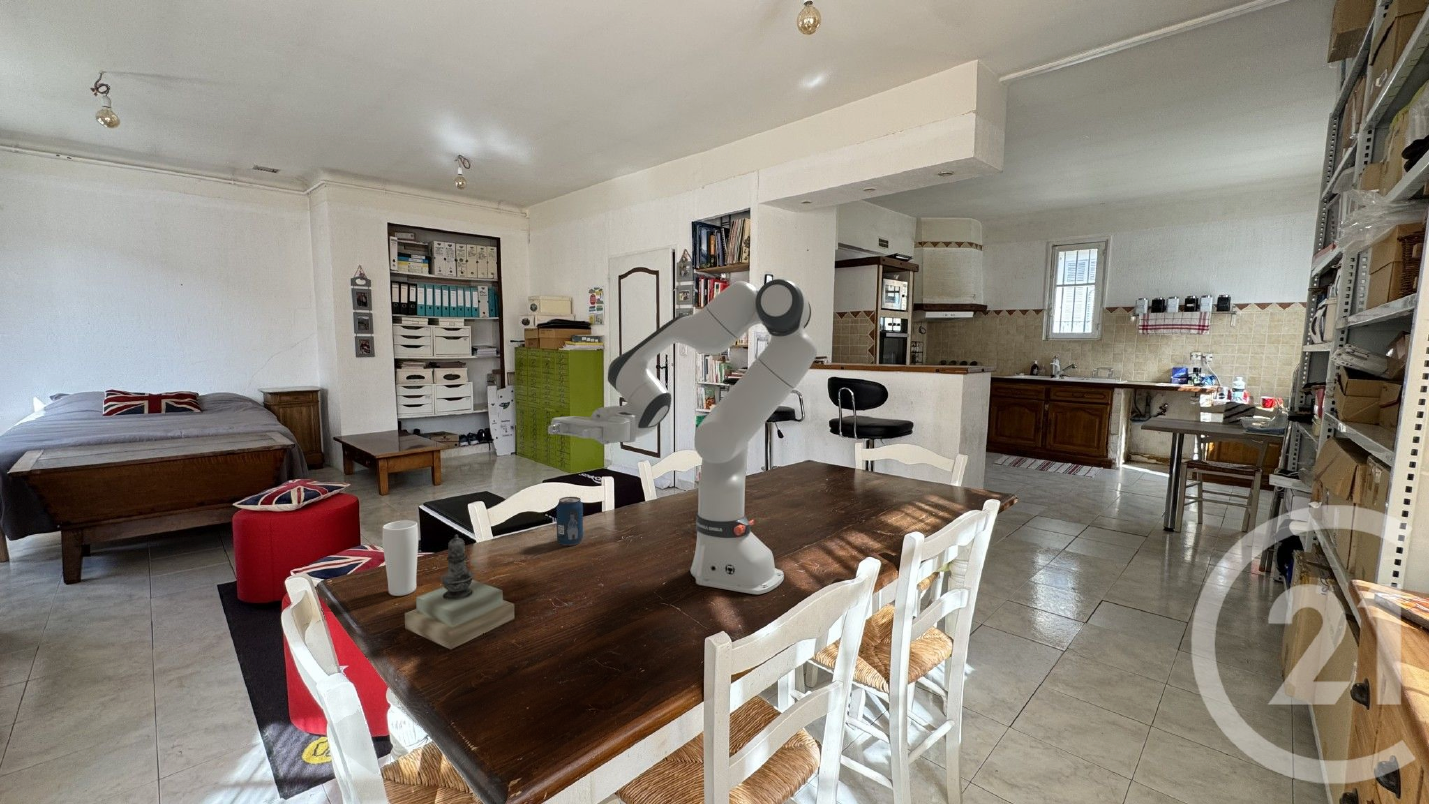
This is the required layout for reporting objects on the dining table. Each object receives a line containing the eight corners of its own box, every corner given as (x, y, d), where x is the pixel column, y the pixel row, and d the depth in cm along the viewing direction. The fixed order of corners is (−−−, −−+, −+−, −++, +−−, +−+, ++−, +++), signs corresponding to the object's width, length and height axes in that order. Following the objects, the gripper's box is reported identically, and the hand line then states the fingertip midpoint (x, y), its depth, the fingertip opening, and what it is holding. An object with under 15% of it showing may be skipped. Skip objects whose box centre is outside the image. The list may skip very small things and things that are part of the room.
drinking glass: (384, 600, 122) (381, 531, 121) (385, 588, 128) (382, 522, 127) (420, 595, 126) (417, 527, 124) (419, 583, 131) (417, 518, 130)
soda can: (570, 536, 165) (569, 494, 163) (588, 540, 161) (588, 498, 160) (551, 543, 159) (551, 500, 158) (570, 548, 155) (569, 504, 154)
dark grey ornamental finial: (447, 588, 115) (445, 529, 114) (478, 587, 116) (476, 528, 115) (436, 601, 109) (434, 539, 108) (469, 600, 110) (467, 538, 109)
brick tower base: (514, 618, 116) (513, 589, 115) (450, 649, 104) (449, 617, 103) (469, 601, 123) (468, 573, 122) (405, 628, 111) (404, 598, 110)
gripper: (576, 408, 145) (532, 414, 133) (640, 415, 134) (599, 422, 123) (576, 433, 146) (532, 441, 134) (640, 442, 135) (599, 451, 123)
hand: (565, 432), depth 128 cm, fingers open, 8 cm apart
